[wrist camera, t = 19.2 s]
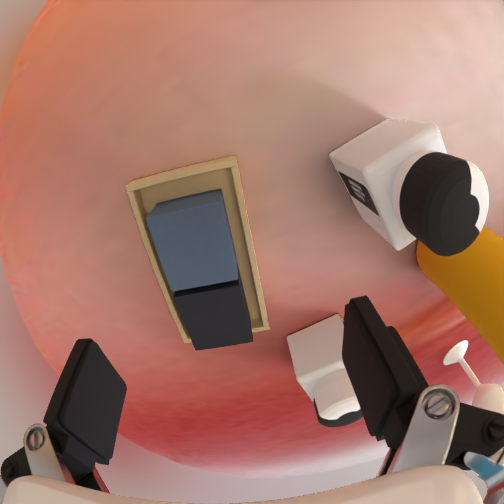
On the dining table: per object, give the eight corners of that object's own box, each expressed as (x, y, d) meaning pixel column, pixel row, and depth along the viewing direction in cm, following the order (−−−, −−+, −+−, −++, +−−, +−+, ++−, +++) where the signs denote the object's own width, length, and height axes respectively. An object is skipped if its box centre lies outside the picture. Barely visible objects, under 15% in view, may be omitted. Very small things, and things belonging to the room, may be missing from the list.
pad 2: (179, 274, 28) (173, 297, 24) (237, 262, 28) (239, 285, 24) (198, 325, 31) (195, 350, 27) (250, 316, 31) (253, 341, 27)
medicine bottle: (351, 344, 36) (382, 414, 25) (304, 365, 37) (324, 439, 26) (338, 311, 33) (376, 388, 22) (285, 335, 34) (305, 418, 23)
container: (360, 219, 27) (434, 290, 16) (326, 153, 24) (405, 192, 12) (415, 182, 26) (503, 231, 14) (388, 116, 22) (488, 133, 11)
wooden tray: (132, 180, 24) (125, 186, 22) (236, 155, 24) (236, 158, 22) (186, 330, 32) (184, 343, 30) (267, 317, 32) (269, 329, 30)
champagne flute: (443, 369, 44) (493, 457, 22) (442, 355, 41) (499, 451, 20) (468, 350, 42) (521, 433, 21) (468, 334, 40) (530, 424, 18)
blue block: (156, 202, 24) (145, 218, 21) (221, 187, 24) (220, 201, 21) (177, 268, 28) (171, 292, 24) (236, 257, 27) (238, 279, 24)
